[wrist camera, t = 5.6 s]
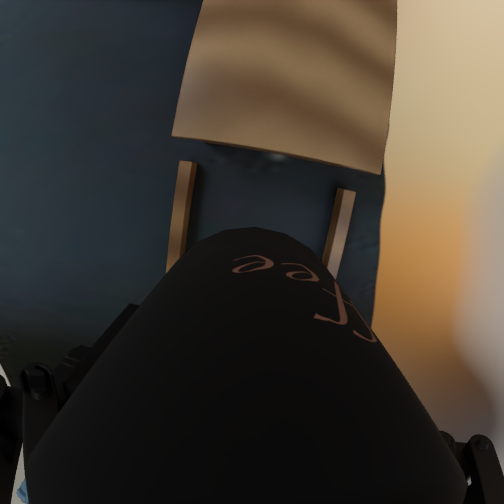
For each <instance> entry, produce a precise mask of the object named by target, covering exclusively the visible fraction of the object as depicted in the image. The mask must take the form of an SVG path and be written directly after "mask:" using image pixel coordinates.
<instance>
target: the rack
mask: <svg viewBox="0 0 504 504" xmlns="http://www.w3.org/2000/svg"><path fill="white" fill-rule="evenodd" d="M396 33H397V0H204V1H203V4H202V7H201V11H200V14H199V18H198V21H197V25H196V28H195V32H194V36H193V39H192V43H191V47H190V51H189V55H188V59H187V63H186V68H185V72H184V76H183V81H182V85H181V90H180V95H179V99H178V104H177V109H176V114H175V120H174V125H173V131H172V136H173V137H175V138H182V139H191V140H199V141H203V142H205V143H209V144H217V145H224V146H231V147H237V148H244V149H250V150H256V151H262V152H267V153H273V154H278V155H283V156H289V157H294V158H299V159H303V160H308V161H313V162H318V163H322V164H326V165H331V166H335V167H346V168H350V169H354V170H358V171H362V172H366V173H370V174H373V175H380V174H381V169H382V163H383V157H384V151H385V145H386V138H387V131H388V124H389V117H390V108H391V100H392V99H391V98H392V90H393V79H394V66H395V53H396ZM196 168H197V162H190V161H182V160H180V162H179V168H178V175H177V181H176V188H175V196H174V203H173V211H172V219H171V228H170V237H169V246H168V256H167V267H166V273H167V272H168V271H169V270H170V268H171V267H172V266H173V265H174V264H175V262H176V261H177V260H178V259H179V258H181V257H182V256H183V255H184V254H185V247H186V238H187V230H188V223H189V215H190V208H191V201H192V194H193V187H194V180H195V174H196ZM355 194H356V192H354V191H350V190H346V189H341V188H337V192H336V197H335V202H334V207H333V212H332V217H331V222H330V226H329V231H328V235H327V240H326V244H325V249H324V253H323V257H322V263H323V264H324V265H325V267H326V268H327V269H328V270H329V271H330V273H331V274H332V275H333V277H334V278H335V280H336V277H337V273H338V269H339V265H340V261H341V257H342V253H343V249H344V245H345V241H346V236H347V232H348V227H349V223H350V218H351V214H352V209H353V204H354V199H355Z"/></svg>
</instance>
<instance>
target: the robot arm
mask: <svg viewBox="0 0 504 504" xmlns="http://www.w3.org/2000/svg"><path fill="white" fill-rule="evenodd" d="M138 307H139V305H134V304H130V303H129V305H128V306H127V307H126V308H125V309H124V310H123V311H122V313H121V314H120V315H119V316H118V317H117V318H116V319H115V321H114V322H113V323H112V324H111V325H110V326H109V327H108V329H107V330H106V331H105V332H104V333H103V334H102V336H101V337H100V338H99V339H98V340H97V342H96V343H95V344H94V345H93V346H92V348H89V347H86V346H83V345H80V346H78V347H76V348H74V349H72V350H71V351H70V352H69V353H68V355H67V356H66V358H64V359H63V360H62V361H61V364H60V363H59V365H58V366H57V367H56V368H55V369H54V370H53V371H52V370H51V369H50V368H49V367H48V366H47V365H44V364H42V363H30V364H27V365H25V366H23V367H22V368H21V369H20V370H19V372H18V378H19V381H20V384H21V387H22V389H21V388H15V387H10V386H7V384H6V381H5V379H4V377H3V376H1V375H0V504H11V498H12V492H13V486H14V480H15V475H16V470H17V465H18V460H19V456H20V452H21V447H22V443H23V457H24V470H25V469H26V466H27V462H28V459H29V456H30V454H31V453H32V451H33V450H34V448H35V447H36V445H37V444H38V442H39V441H40V439H41V438H42V436H43V435H44V433H45V432H46V430H47V429H48V428H49V426H50V425H51V423H52V422H53V420H54V419H55V417H56V416H57V415H58V413H59V412H60V410H61V409H62V407H63V406H64V405H65V403H66V402H67V400H68V399H69V398H70V396H71V395H72V393H73V392H74V391H75V389H76V388H77V387H78V385H79V384H80V383H81V381H82V380H83V378H84V377H85V376H86V374H87V373H88V372H89V370H90V369H91V368H92V366H93V365H94V364H95V362H96V361H97V360H98V358H99V357H100V356H101V354H102V353H103V352H104V351H105V349H106V348H107V347H108V345H109V344H110V343H111V341H112V340H113V339H114V338H115V336H116V335H117V334H118V332H119V331H120V330H121V329H122V327H123V326H124V325H125V324H126V322H127V321H128V320H129V318H130V317H131V316H132V315H133V313H134V312H135V311H136V310H137V308H138ZM440 433H441V435H442V436H443V438H444V440H445V441H446V443H447V444H448V446H449V448H450V449H451V451H452V453H453V454H454V456H455V458H456V460H457V461H458V463H459V465H460V466H461V468H462V470H463V472H464V474H465V478H466V483H467V487H468V488H467V491H466V495H465V498H464V502H463V504H504V475H503V472H502V469H501V466H500V463H499V460H498V457H497V454H496V451H495V448H494V445H493V444H492V442H491V440H490V439H488V438H487V437H486V436H484V435H480V434H478V435H474V436H472V437H471V439H470V440H469V441H468V443H461V442H455V440H454V439H453V437H452V436H451V435H450V434H448V433H446V432H444V431H440ZM470 478H471V484H470V485H469V486H468V482H467V481H468V480H469V479H470ZM17 495H18V497H19V498H20V499H21V501H22V502H23V503H27V504H30V502H29V498H28V495H27V488H26V479H24V481H23V482H22V484H21V486H20V488H19V489H18V490H17Z"/></svg>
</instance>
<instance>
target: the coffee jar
mask: <svg viewBox="0 0 504 504" xmlns="http://www.w3.org/2000/svg"><path fill="white" fill-rule="evenodd" d="M25 479H26V488H27V495H28V498H29V502H30V504H463V502H464V498H465V495H466V491H467V488H468V487H467V483H466V478H465V474H464V472H463V470H462V468H461V466H460V465H459V463H458V461H457V460H456V458H455V456H454V454H453V453H452V451H451V449H450V448H449V446H448V444H447V443H446V441H445V440H444V438H443V436H442V435H441V433H440V431H439V430H438V428H437V427H436V425H435V423H434V422H433V420H432V419H431V417H430V416H429V414H428V412H427V411H426V409H425V408H424V406H423V405H422V403H421V401H420V400H419V398H418V397H417V395H416V394H415V392H414V391H413V389H412V388H411V386H410V385H409V383H408V382H407V380H406V379H405V377H404V376H403V374H402V373H401V371H400V370H399V368H398V367H397V365H396V364H395V362H394V361H393V359H392V358H391V356H390V355H389V354H388V352H387V351H386V349H385V348H384V346H383V345H382V343H381V342H380V341H379V339H378V338H377V336H376V335H375V333H374V332H373V331H372V329H371V328H370V326H369V325H368V323H367V322H366V321H365V319H364V318H363V316H362V315H361V314H360V312H359V311H358V309H357V308H356V307H355V305H354V304H353V303H352V301H351V300H350V298H349V297H348V296H347V294H346V293H345V292H344V290H343V289H342V288H341V286H340V285H339V284H338V282H337V281H336V280H335V278H334V277H333V275H332V274H331V273H330V271H329V270H328V269H327V268H326V267H325V265H324V264H323V263H322V262H321V261H320V259H319V258H318V257H317V256H316V255H315V253H314V252H313V251H312V250H311V249H310V248H308V247H307V246H305V245H303V244H302V243H300V242H298V241H297V240H295V239H293V238H292V237H290V236H288V235H287V234H284V233H280V232H275V231H271V230H266V229H262V228H257V227H251V228H240V229H230V230H223V231H221V232H219V233H217V234H214V235H212V236H210V237H208V238H205V239H203V240H201V241H199V242H197V243H196V244H195V245H193V246H192V247H191V248H190V249H189V250H188V251H187V252H186V253H185V254H184V255H183V256H182V257H181V258H179V259H178V260H177V261H176V262H175V264H174V265H173V266H172V267H171V268H170V270H169V271H168V272H167V273H166V274H165V276H164V277H163V278H162V279H161V280H160V282H159V283H158V284H157V285H156V286H155V288H154V289H153V290H152V291H151V292H150V294H149V295H148V296H147V297H146V299H145V300H144V301H143V302H142V304H141V305H140V306H139V307H138V308H137V310H136V311H135V312H134V313H133V315H132V316H131V317H130V318H129V320H128V321H127V322H126V324H125V325H124V326H123V327H122V329H121V330H120V331H119V332H118V334H117V335H116V336H115V338H114V339H113V340H112V341H111V343H110V344H109V345H108V347H107V348H106V349H105V351H104V352H103V353H102V354H101V356H100V357H99V358H98V360H97V361H96V362H95V364H94V365H93V366H92V368H91V369H90V370H89V372H88V373H87V374H86V376H85V377H84V378H83V380H82V381H81V383H80V384H79V385H78V387H77V388H76V389H75V391H74V392H73V393H72V395H71V396H70V398H69V399H68V400H67V402H66V403H65V405H64V406H63V407H62V409H61V410H60V412H59V413H58V415H57V416H56V417H55V419H54V420H53V422H52V423H51V425H50V426H49V428H48V429H47V430H46V432H45V433H44V435H43V436H42V438H41V439H40V441H39V442H38V444H37V445H36V447H35V448H34V450H33V451H32V453H31V454H30V456H29V459H28V462H27V466H26V469H25Z"/></svg>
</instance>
